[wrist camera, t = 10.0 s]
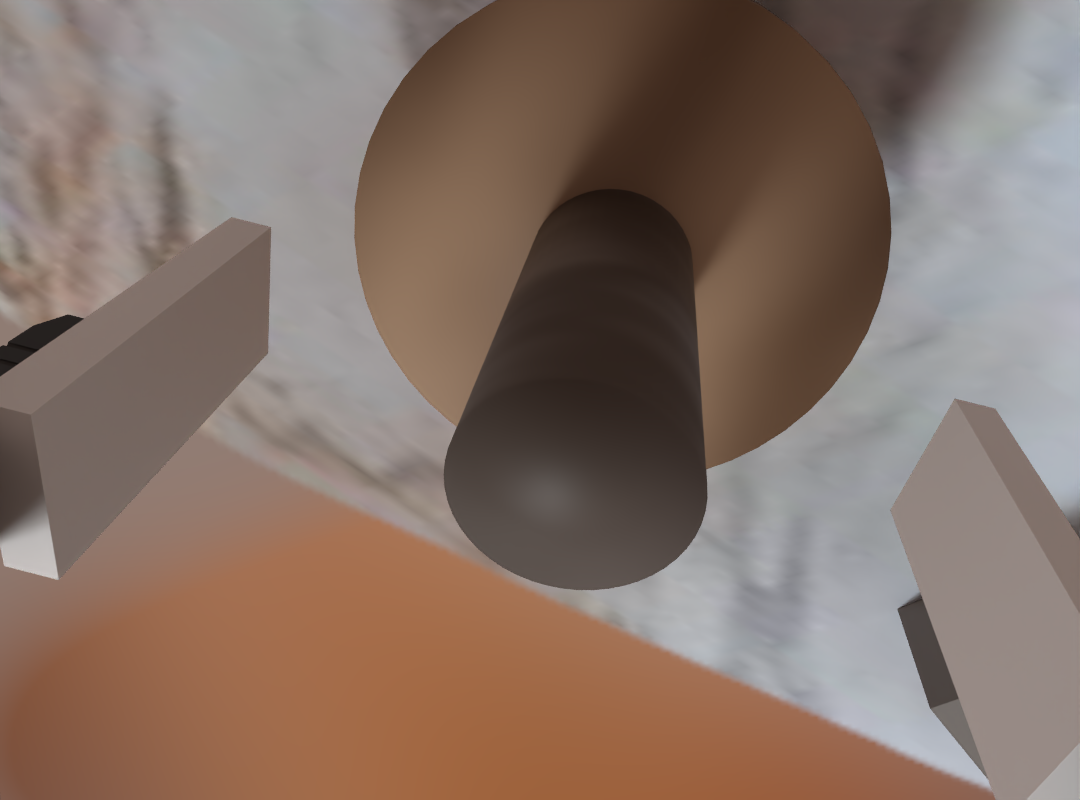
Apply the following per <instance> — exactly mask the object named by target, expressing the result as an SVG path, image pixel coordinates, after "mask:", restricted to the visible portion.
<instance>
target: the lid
mask: <svg viewBox="0 0 1080 800" xmlns="http://www.w3.org/2000/svg"><path fill="white" fill-rule="evenodd" d="M890 242H891V216H890V197H889V192H888V187H887V182H886V177H885V172H884V167H883V162H882V159H881V156H880V153H879V151H878V148H877V145H876V142H875V139H874V137H873V134H872V131H871V128H870V126H869V124H868V122H867V120H866V119H865V117H864V115H863V113H862V111H861V109H860V107H859V106H858V104H857V102H856V100H855V98H854V96H853V95H852V93H851V91H850V90H849V89H848V88H847V86H846V85H845V84H844V82H843V81H842V80H841V78H840V77H839V76H838V74H837V73H836V72H835V70H834V69H833V68H832V66H831V65H830V64H829V63H828V61H827V60H826V59H825V58H824V57H823V56H821V55H820V54H819V53H818V52H817V51H816V50H815V49H814V48H813V47H812V46H811V45H810V44H809V43H808V42H807V41H806V40H805V39H804V38H803V37H802V36H801V35H800V34H799V33H798V32H797V31H795V30H794V29H793V28H792V27H791V26H790V25H788V24H787V23H785V22H784V21H783V20H781V19H780V18H778V17H777V16H776V15H774V14H773V13H771V12H770V11H769V10H767V9H766V8H764V7H763V6H761V5H760V4H758V3H756V2H754V1H752V0H497V1H495V2H493V3H491V4H489V5H488V6H486V7H484V8H483V9H481V10H480V11H478V12H477V13H475V14H473V15H472V16H470V17H469V18H467V19H466V20H464V21H463V22H461V23H459V24H458V25H456V26H455V27H454V28H453V29H452V30H451V31H449V32H448V33H447V34H446V35H445V36H444V37H443V38H441V39H440V40H439V41H438V42H437V43H436V44H434V45H433V46H432V47H431V48H430V49H429V50H428V51H427V52H426V53H425V54H424V55H423V56H422V58H421V59H420V60H419V61H418V62H417V63H416V65H415V66H414V67H413V68H412V69H411V70H410V71H409V73H408V74H407V75H406V76H405V77H404V78H403V80H402V82H401V83H400V85H399V86H398V88H397V89H396V91H395V93H394V94H393V96H392V97H391V99H390V100H389V102H388V103H387V105H386V107H385V108H384V110H383V112H382V115H381V117H380V119H379V121H378V123H377V126H376V128H375V130H374V132H373V134H372V136H371V139H370V141H369V144H368V148H367V151H366V155H365V158H364V161H363V165H362V168H361V172H360V177H359V183H358V190H357V196H356V203H355V246H356V255H357V263H358V271H359V275H360V279H361V283H362V287H363V291H364V295H365V299H366V302H367V304H368V307H369V310H370V312H371V315H372V317H373V320H374V322H375V325H376V328H377V330H378V332H379V333H380V335H381V337H382V339H383V341H384V343H385V345H386V347H387V348H388V350H389V352H390V354H391V356H392V357H393V359H394V360H395V361H396V363H397V364H398V366H399V367H400V369H401V370H402V371H403V373H404V374H405V376H406V377H407V379H408V380H409V381H410V382H411V383H412V384H413V386H414V387H415V388H416V389H417V390H418V391H419V392H420V393H421V395H422V396H423V397H424V398H425V399H426V400H427V401H428V402H429V403H430V404H431V405H432V406H433V407H434V408H435V409H436V410H438V411H439V412H440V413H441V414H442V415H443V416H444V417H445V418H447V419H448V420H449V421H450V422H451V423H453V424H454V425H455V426H457V428H456V430H455V433H454V435H453V438H452V440H451V442H450V445H449V447H448V451H447V455H446V459H445V466H444V485H445V491H446V496H447V500H448V503H449V506H450V508H451V511H452V514H453V515H454V517H455V519H456V521H457V523H458V524H459V526H460V528H461V529H462V530H463V532H464V533H465V534H466V536H467V537H468V538H469V540H470V541H471V542H472V543H473V544H474V545H475V546H476V547H477V548H478V549H479V550H480V551H481V552H483V553H484V554H485V555H486V556H487V557H489V558H490V559H491V560H493V561H494V562H496V563H497V564H499V565H500V566H502V567H503V568H505V569H507V570H509V571H511V572H513V573H514V574H516V575H519V576H521V577H524V578H526V579H528V580H531V581H534V582H537V583H541V584H544V585H548V586H553V587H558V588H564V589H574V590H599V589H609V588H614V587H619V586H624V585H628V584H631V583H634V582H637V581H640V580H642V579H645V578H647V577H649V576H651V575H653V574H655V573H657V572H659V571H660V570H662V569H664V568H665V567H667V566H668V565H669V564H670V563H672V562H673V561H674V560H676V559H677V558H678V557H679V556H680V555H681V554H682V553H683V552H684V551H685V550H686V549H687V547H688V546H689V545H690V543H691V542H692V540H693V539H694V538H695V536H696V534H697V532H698V530H699V528H700V526H701V524H702V521H703V517H704V514H705V511H706V504H707V475H706V469H708V468H711V467H714V466H717V465H720V464H722V463H725V462H728V461H731V460H733V459H735V458H737V457H739V456H741V455H743V454H745V453H747V452H750V451H752V450H754V449H756V448H758V447H760V446H761V445H763V444H764V443H766V442H767V441H769V440H771V439H772V438H774V437H775V436H777V435H778V434H780V433H782V432H783V431H785V430H786V429H787V428H788V427H790V426H791V425H792V424H793V423H795V422H796V421H797V420H798V419H800V418H801V417H802V416H803V415H805V414H806V413H807V412H808V411H809V410H810V409H811V408H812V407H813V406H814V405H815V404H816V403H817V402H818V401H819V400H820V399H821V398H822V397H823V396H824V395H825V394H826V393H827V392H828V391H829V390H830V389H831V388H832V386H833V385H834V384H835V382H836V381H837V380H838V378H839V377H840V376H841V374H842V373H843V372H844V370H845V369H846V368H847V366H848V365H849V364H850V362H851V361H852V359H853V357H854V355H855V354H856V352H857V350H858V348H859V346H860V345H861V343H862V341H863V339H864V338H865V336H866V334H867V332H868V329H869V327H870V324H871V322H872V319H873V317H874V314H875V312H876V309H877V307H878V304H879V302H880V298H881V294H882V290H883V286H884V282H885V278H886V274H887V270H888V261H889V252H890Z"/></svg>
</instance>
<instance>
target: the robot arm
mask: <svg viewBox="0 0 1080 800" xmlns="http://www.w3.org/2000/svg"><path fill="white" fill-rule="evenodd" d="M270 247H271V227H268V226H264V225H260V224H256V223H252V222H248V221H244V220H240V219H236V218H232V217H231V218H230V219H228V220H227V221H225V222H224V223H223V224H221V225H220V226H218V227H217V228H215V229H214V230H212V231H211V232H210V233H208V234H207V235H205V236H204V237H202V238H201V239H199V240H198V241H196V242H195V243H194V244H192V245H191V246H189V247H188V248H186V249H185V250H183V251H182V252H180V253H179V254H178V255H176V256H175V257H173V258H172V259H170V260H169V261H167V262H166V263H164V264H163V265H162V266H160V267H159V268H157V269H156V270H154V271H153V272H151V273H150V274H149V275H147V276H146V277H144V278H143V279H141V280H140V281H138V282H137V283H135V284H134V285H133V286H131V287H130V288H128V289H127V290H125V291H124V292H122V293H121V294H119V295H118V296H117V297H115V298H114V299H112V300H111V301H109V302H108V303H106V304H105V305H103V306H102V307H101V308H99V309H98V310H96V311H95V312H93V313H92V314H90V315H89V316H88V317H86V318H85V319H84V318H80V317H76V316H72V315H65V316H62V317H59V318H56V319H53V320H50V321H46V322H43V323H40V324H37V325H34V326H32V327H31V328H29V329H27V330H26V331H24V332H23V333H21V334H20V335H18V336H17V337H15V338H13V339H12V340H10V341H9V342H8V345H7V346H4V345H3V346H1V347H0V548H1V552H2V557H3V562H4V566H7V567H10V568H15V569H18V570H22V571H26V572H30V573H34V574H38V575H41V576H45V577H49V578H53V579H57V580H59V579H60V578H61V577H62V576H63V575H64V574H65V573H66V571H67V570H68V569H69V568H70V567H71V566H72V565H73V564H74V563H75V562H76V561H77V560H78V558H79V557H80V556H81V555H82V554H83V553H84V552H85V551H86V550H87V549H88V548H89V547H90V545H91V544H92V543H93V542H94V541H95V540H96V539H97V538H98V537H99V536H100V535H101V533H102V532H103V531H104V530H105V529H106V528H107V527H108V526H109V525H110V524H111V523H112V522H113V520H114V519H115V518H116V517H117V516H118V515H119V514H120V513H121V512H122V511H123V510H124V509H125V507H126V506H127V505H128V504H129V503H130V502H131V501H132V500H133V499H134V498H135V497H136V496H137V494H138V493H139V492H140V491H141V490H142V489H143V488H144V487H145V486H146V485H147V483H149V481H150V480H151V479H152V478H153V477H154V476H155V475H156V474H157V473H158V472H159V471H160V469H161V468H162V467H163V466H164V465H165V464H166V463H167V462H168V461H169V460H170V459H171V457H172V456H173V455H174V454H175V453H176V452H177V451H178V450H179V449H180V448H181V447H182V445H184V443H185V442H186V441H187V440H188V439H189V438H190V437H191V436H192V435H193V434H194V433H195V432H196V430H197V429H198V428H199V427H200V426H201V425H202V424H203V423H204V422H205V421H206V420H207V419H208V417H209V416H210V415H211V414H212V413H213V412H214V411H215V410H216V409H217V408H218V407H219V405H220V404H221V403H222V402H223V401H224V400H225V399H226V398H227V397H228V396H229V395H230V394H231V392H232V391H233V390H234V389H235V388H236V387H237V386H238V385H239V384H240V383H241V382H242V381H243V379H244V378H245V377H246V376H247V375H248V374H249V373H250V372H251V371H252V370H253V369H254V368H255V366H256V365H257V364H258V363H259V362H260V361H261V360H262V359H263V358H264V357H265V356H266V354H267V353H268V331H269V289H270ZM891 513H892V516H893V519H894V521H895V524H896V527H897V530H898V532H899V535H900V538H901V541H902V543H903V546H904V549H905V552H906V554H907V557H908V560H909V563H910V565H911V568H912V571H913V574H914V576H915V579H916V582H917V585H918V587H919V590H920V593H921V596H922V598H923V601H924V604H925V607H926V609H927V612H928V615H929V618H930V620H931V623H932V626H933V629H934V631H935V634H936V637H937V640H938V642H939V645H940V648H941V651H942V653H943V656H944V659H945V662H946V664H947V667H948V670H949V673H950V675H951V678H952V681H953V684H954V686H955V689H956V692H957V695H958V698H959V700H960V703H961V706H962V709H963V711H964V714H965V717H966V720H967V722H968V725H969V728H970V731H971V733H972V736H973V739H974V742H975V744H976V747H977V750H978V753H979V755H980V758H981V761H982V764H983V766H984V769H985V772H986V775H987V777H988V780H989V783H990V786H991V788H992V791H993V794H994V797H995V799H996V800H1080V539H1079V537H1078V535H1077V534H1076V532H1075V531H1074V529H1073V528H1072V526H1071V525H1070V523H1069V522H1068V520H1067V519H1066V517H1065V515H1064V514H1063V512H1062V511H1061V509H1060V508H1059V506H1058V505H1057V503H1056V502H1055V500H1054V499H1053V497H1052V495H1051V494H1050V492H1049V491H1048V489H1047V488H1046V486H1045V485H1044V483H1043V482H1042V480H1041V478H1040V477H1039V475H1038V474H1037V472H1036V471H1035V469H1034V468H1033V466H1032V465H1031V463H1030V462H1029V460H1028V458H1027V457H1026V455H1025V454H1024V452H1023V451H1022V449H1021V448H1020V446H1019V445H1018V443H1017V442H1016V440H1015V438H1014V437H1013V435H1012V434H1011V432H1010V431H1009V429H1008V428H1007V426H1006V425H1005V423H1004V422H1003V420H1002V418H1001V417H1000V415H999V414H998V412H997V411H996V409H994V408H990V407H986V406H982V405H978V404H974V403H970V402H966V401H962V400H958V399H954V401H953V403H952V405H951V406H950V408H949V410H948V411H947V413H946V415H945V417H944V418H943V420H942V422H941V424H940V425H939V427H938V429H937V430H936V432H935V434H934V436H933V437H932V439H931V441H930V443H929V444H928V446H927V448H926V450H925V451H924V453H923V455H922V456H921V458H920V460H919V462H918V463H917V465H916V467H915V469H914V470H913V472H912V474H911V475H910V477H909V479H908V481H907V482H906V484H905V486H904V488H903V489H902V491H901V493H900V495H899V496H898V498H897V500H896V501H895V503H894V505H893V507H892V508H891Z"/></svg>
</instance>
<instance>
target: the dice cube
mask: <svg viewBox="0 0 1080 800" xmlns="http://www.w3.org/2000/svg"><path fill="white" fill-rule="evenodd" d="M898 612H899V615H900V618H901V621H902V624H903V627H904V630H905V633H906V637H907V640H908V643H909V646H910V649H911V652H912V655H913V658H914V661H915V664H916V667H917V670H918V673H919V676H920V679H921V682H922V685H923V688H924V691H925V694H926V697H927V700H928V703H929V706H930V709H931V710H932V711H933V713H934V714H935V715H936V716H937V717H938V719H939V720H940V721H941V722H942V724H943V725H944V726H945V727H946V728H947V730H948V731H949V732H950V733H951V735H952V736H953V737H954V738H955V739H956V741H957V742H958V743H959V744H960V746H961V747H962V748H963V749H964V750H965V752H966V753H967V754H968V755H969V757H970V758H971V759H972V760H973V761H974V763H975V764H976V765H977V766H978V768H979V769H980V770H981V771H982V773H983V774H984V775H985V776H986V777H987V775H986V772H985V769H984V766H983V764H982V761H981V758H980V755H979V753H978V750H977V747H976V744H975V742H974V739H973V736H972V733H971V731H970V728H969V725H968V722H967V720H966V717H965V714H964V711H963V709H962V706H961V703H960V700H959V698H958V695H957V692H956V689H955V686H954V684H953V681H952V678H951V675H950V673H949V670H948V667H947V664H946V662H945V659H944V656H943V653H942V651H941V648H940V645H939V642H938V640H937V637H936V634H935V631H934V629H933V626H932V623H931V620H930V618H929V615H928V612H927V609H926V607H925V604H924V601H923V599H921V600H919V601H916V602H914V603H911V604H909V605H906V606H904V607H901V608H899V609H898ZM987 779H988V777H987Z"/></svg>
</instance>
